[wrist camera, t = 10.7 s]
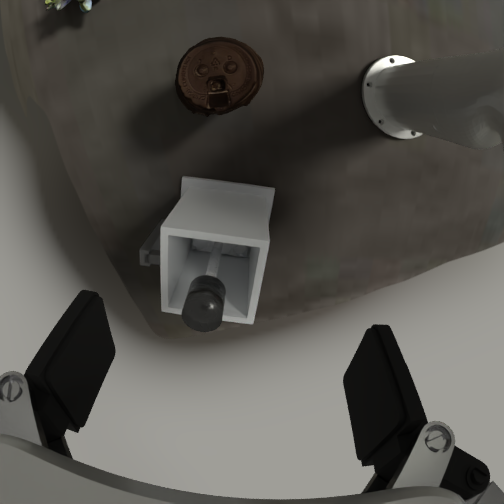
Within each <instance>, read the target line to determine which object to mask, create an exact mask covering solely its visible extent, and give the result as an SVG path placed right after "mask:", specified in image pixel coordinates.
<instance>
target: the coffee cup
mask: <svg viewBox="0 0 504 504" xmlns="http://www.w3.org/2000/svg"><path fill="white" fill-rule="evenodd" d="M263 74H264V67H263V62H262V59H261V58H260V57H259V56H258V54H257V53H256V52H255V51H254V50H253V49H252V48H251V47H249V46H248V45H246V44H245V43H243V42H240V41H238V40H236V39H232V38H226V37H215V38H208V39H205V40H203V41H201V42H199V43H198V44H196V45H195V46H193V47H191V48H189V49H188V51H187V52H186V53H185V54H184V56H183V57H182V58H181V60H180V62H179V64H178V68H177V73H176V80H175V86H176V91H177V94H178V97H179V99H180V100H181V102H182V103H183V105H184V106H185V107H186V108H187V109H188V110H190V111H192V113H193V114H195V113H197V114H201V115H205V116H206V117H208V116H209V115H211V114H217V115H222V114H225V113H229V112H231V111H233V110H235V109H237V108H239V107H242V106H247V105H248V104H249V103H250V102H251V100H253V98H254V97H255V95H256V94H257V93H258V91H259V89H260V87H261V85H262V81H263Z"/></svg>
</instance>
